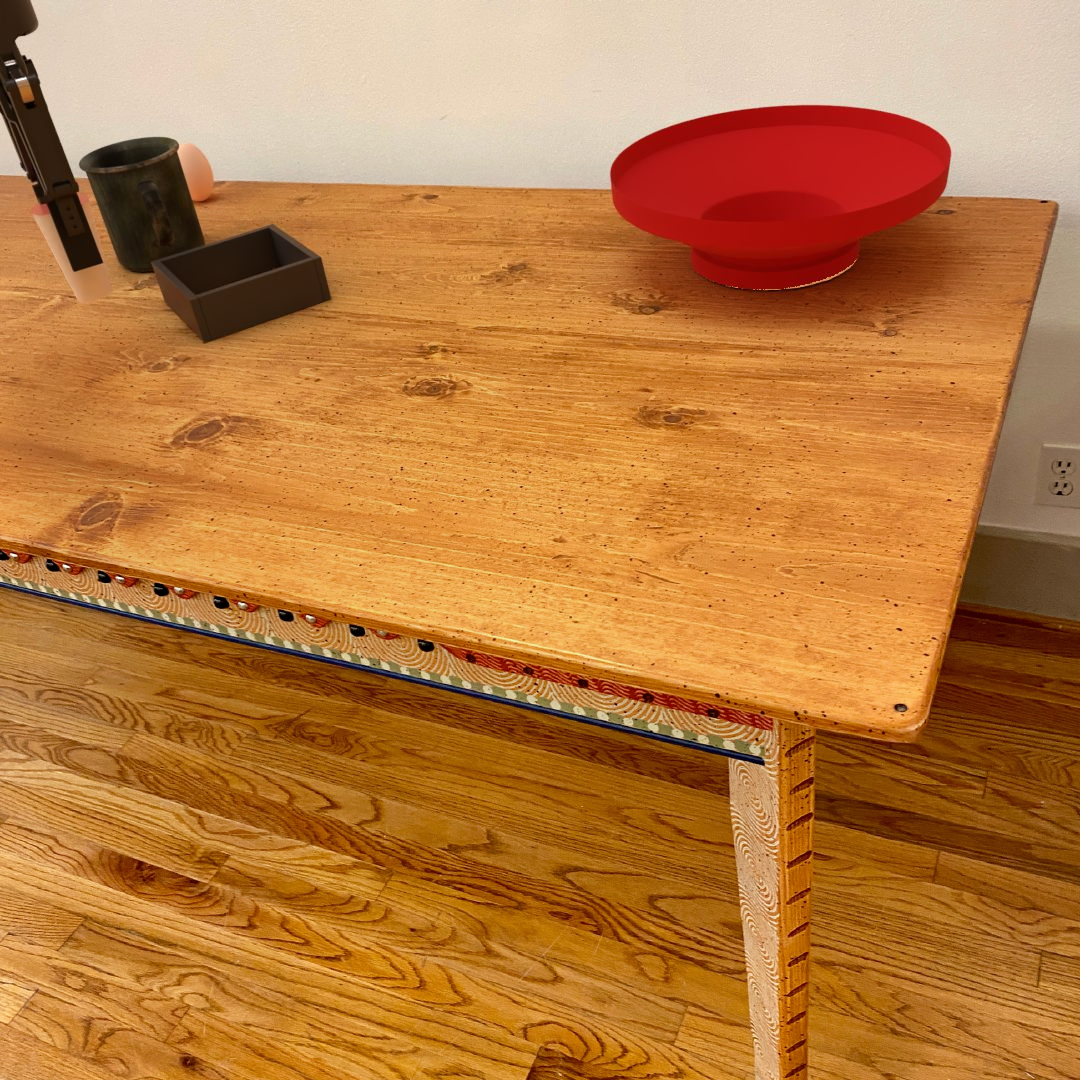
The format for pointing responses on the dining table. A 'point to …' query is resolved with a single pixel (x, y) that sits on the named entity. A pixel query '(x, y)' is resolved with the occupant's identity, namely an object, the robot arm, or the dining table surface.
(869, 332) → the dining table surface
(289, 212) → the dining table surface
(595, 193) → the dining table surface
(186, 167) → the egg
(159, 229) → the mug
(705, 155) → the bowl
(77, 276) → the cup
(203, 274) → the dark brown open box
